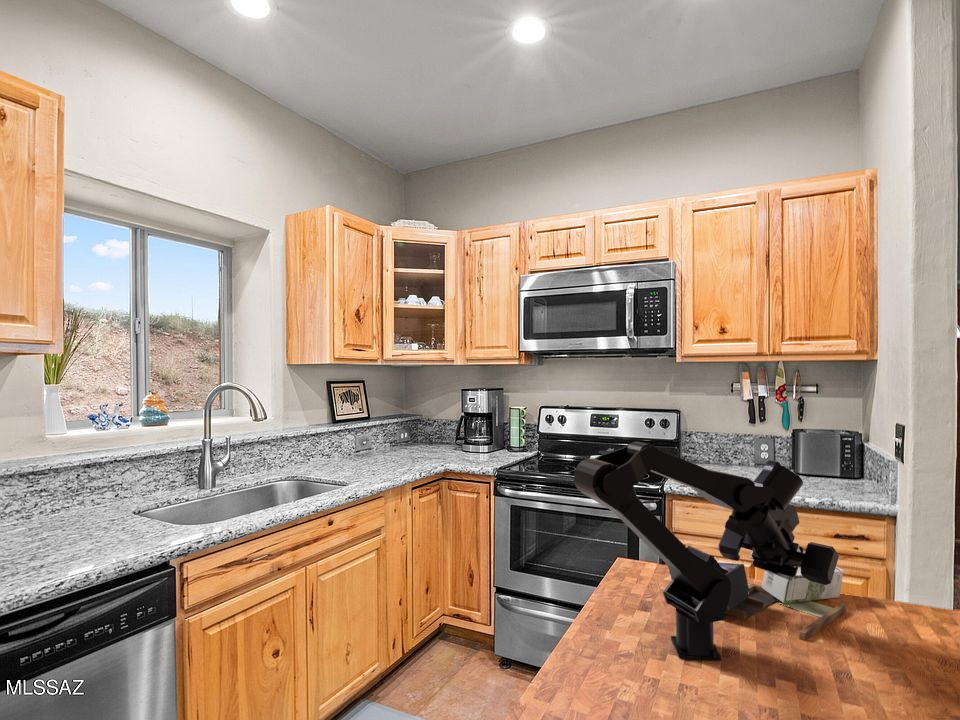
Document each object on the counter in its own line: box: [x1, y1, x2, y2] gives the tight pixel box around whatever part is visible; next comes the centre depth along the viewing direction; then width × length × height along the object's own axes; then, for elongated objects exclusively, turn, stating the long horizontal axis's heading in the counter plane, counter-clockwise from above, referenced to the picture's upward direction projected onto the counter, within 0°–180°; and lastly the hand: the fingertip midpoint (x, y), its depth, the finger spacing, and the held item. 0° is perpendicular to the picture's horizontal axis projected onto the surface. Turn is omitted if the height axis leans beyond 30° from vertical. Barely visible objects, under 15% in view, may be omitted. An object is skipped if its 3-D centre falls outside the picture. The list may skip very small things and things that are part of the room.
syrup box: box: [761, 562, 845, 603], centre depth 109 cm, size 6×6×14 cm
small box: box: [670, 562, 750, 611], centre depth 106 cm, size 11×6×10 cm
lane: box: [726, 583, 847, 642], centre depth 103 cm, size 18×16×1 cm
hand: (790, 577), depth 101 cm, fingers closed
